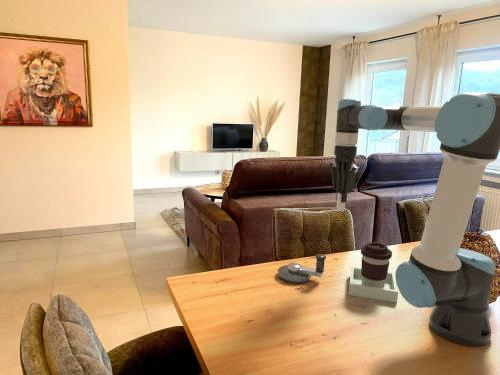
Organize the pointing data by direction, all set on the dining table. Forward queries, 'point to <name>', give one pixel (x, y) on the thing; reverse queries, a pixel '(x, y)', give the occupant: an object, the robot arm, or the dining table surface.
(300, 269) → the crank
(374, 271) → the coffee cup
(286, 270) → the grey round base
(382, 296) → the tray
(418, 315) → the dining table surface
